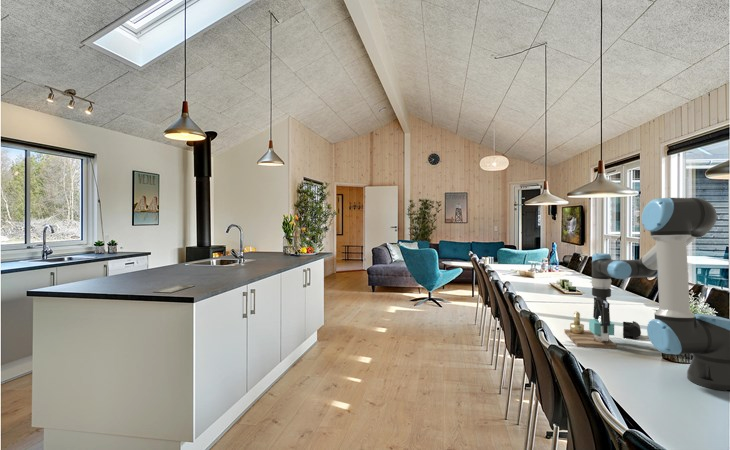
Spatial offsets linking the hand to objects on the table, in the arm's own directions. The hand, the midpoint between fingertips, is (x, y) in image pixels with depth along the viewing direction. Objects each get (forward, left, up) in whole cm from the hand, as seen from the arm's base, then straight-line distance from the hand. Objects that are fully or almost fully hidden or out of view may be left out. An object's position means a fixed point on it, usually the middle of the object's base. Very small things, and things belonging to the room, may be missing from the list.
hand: (601, 337), depth 190 cm
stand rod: (0, 0, -2) cm, 2 cm away
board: (+7, +4, -3) cm, 8 cm away
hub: (+13, +7, -2) cm, 15 cm away
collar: (0, 0, +2) cm, 2 cm away
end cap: (+16, -18, -4) cm, 24 cm away
